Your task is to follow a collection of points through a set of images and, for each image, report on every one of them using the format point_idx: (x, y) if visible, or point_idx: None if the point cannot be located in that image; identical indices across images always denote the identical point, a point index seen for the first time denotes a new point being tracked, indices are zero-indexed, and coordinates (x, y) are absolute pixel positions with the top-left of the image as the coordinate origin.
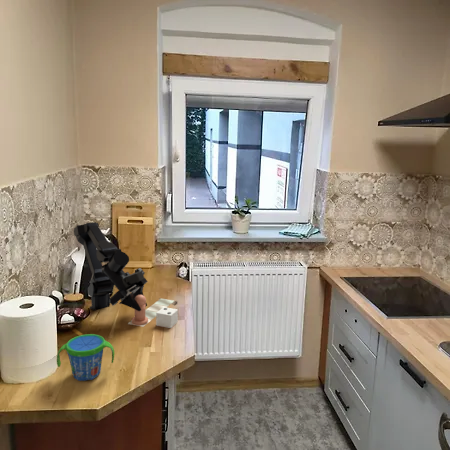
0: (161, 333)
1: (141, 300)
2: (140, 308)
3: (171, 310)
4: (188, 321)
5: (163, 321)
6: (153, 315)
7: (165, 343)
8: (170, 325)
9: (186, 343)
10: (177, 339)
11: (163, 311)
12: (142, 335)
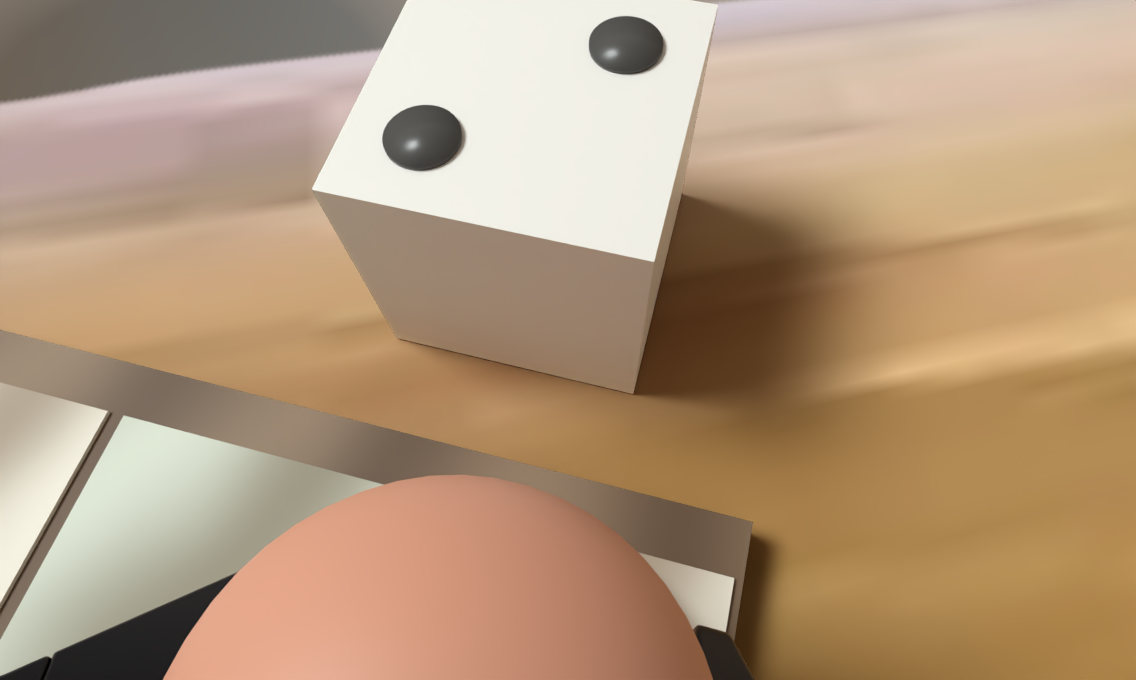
0: (785, 288)
1: (683, 617)
2: (721, 652)
3: (484, 36)
4: (374, 56)
5: (671, 216)
6: (235, 506)
7: (1041, 193)
8: (690, 147)
9: (947, 5)
10: (887, 93)
11: (556, 147)
12: (936, 544)
